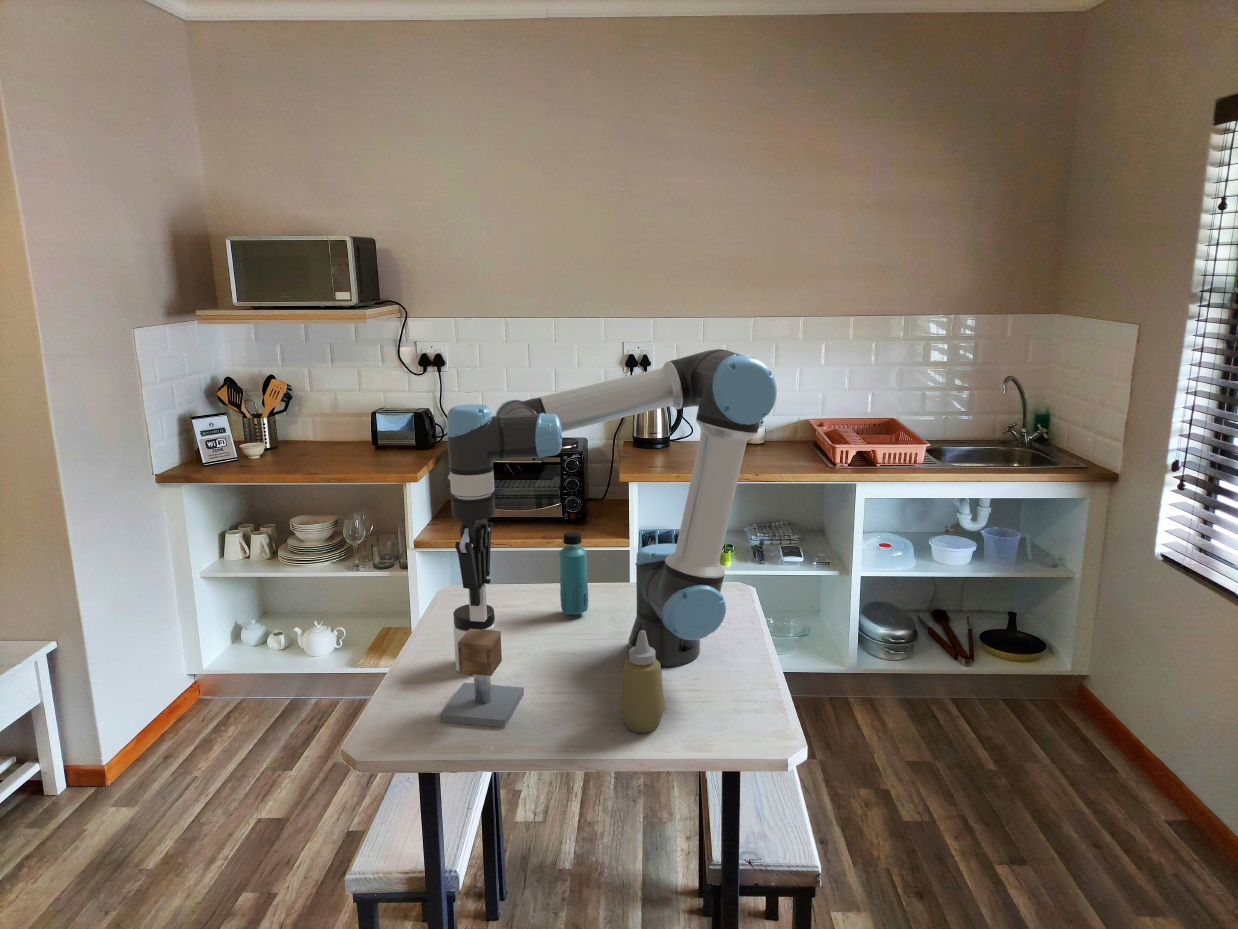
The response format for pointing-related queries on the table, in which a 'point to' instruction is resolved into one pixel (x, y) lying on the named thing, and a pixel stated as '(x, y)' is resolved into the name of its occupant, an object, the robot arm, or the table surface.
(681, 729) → the table surface
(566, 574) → the beverage bottle
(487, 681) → the post
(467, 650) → the brown wooden cube
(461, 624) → the jar
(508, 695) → the base plate
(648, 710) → the squeeze bottle
